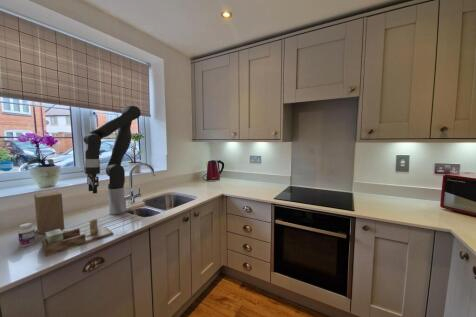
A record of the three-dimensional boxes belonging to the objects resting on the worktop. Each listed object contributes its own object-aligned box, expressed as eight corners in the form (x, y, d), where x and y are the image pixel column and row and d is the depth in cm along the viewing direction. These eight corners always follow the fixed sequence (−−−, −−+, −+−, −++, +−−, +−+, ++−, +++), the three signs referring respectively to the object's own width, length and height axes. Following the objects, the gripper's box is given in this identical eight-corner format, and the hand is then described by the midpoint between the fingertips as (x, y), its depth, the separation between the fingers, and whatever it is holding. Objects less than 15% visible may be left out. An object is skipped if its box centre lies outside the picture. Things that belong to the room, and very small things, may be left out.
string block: (95, 230, 108) (94, 217, 107) (100, 234, 104) (99, 221, 103) (46, 244, 93) (45, 230, 93) (48, 250, 89) (47, 234, 88)
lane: (106, 228, 114) (105, 221, 113) (113, 234, 106) (112, 226, 106) (42, 247, 94) (41, 238, 93) (45, 256, 87) (45, 246, 86)
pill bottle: (19, 243, 97) (17, 224, 96) (35, 240, 101) (34, 221, 100) (19, 248, 93) (17, 227, 92) (35, 244, 97) (33, 224, 96)
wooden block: (60, 223, 120) (58, 190, 118) (64, 228, 114) (61, 193, 112) (37, 229, 113) (33, 194, 111) (39, 234, 106) (36, 197, 104)
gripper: (103, 166, 123) (103, 193, 124) (96, 164, 132) (96, 189, 133) (88, 167, 117) (88, 195, 118) (81, 165, 126) (82, 191, 127)
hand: (92, 192), depth 126 cm, fingers open, 8 cm apart
